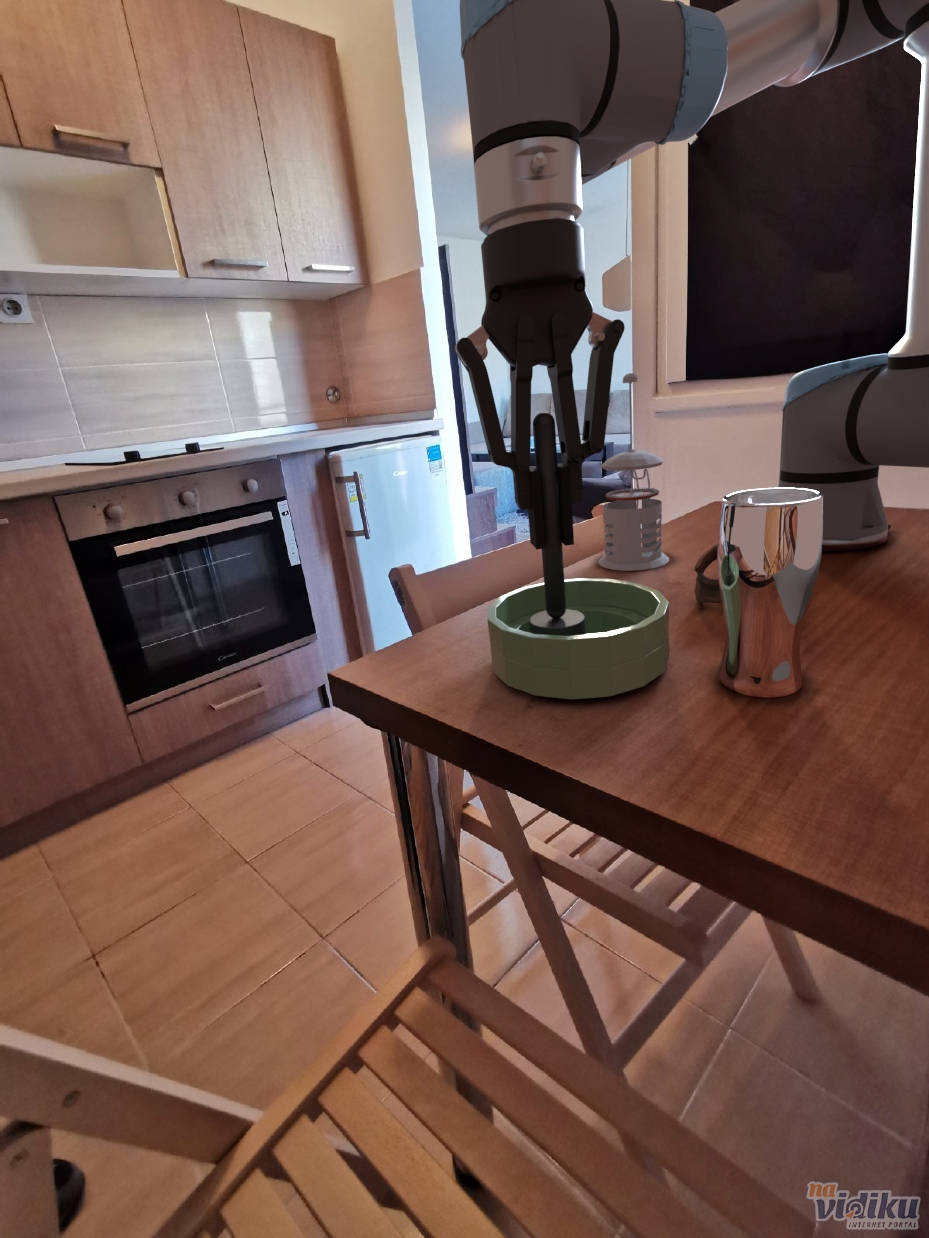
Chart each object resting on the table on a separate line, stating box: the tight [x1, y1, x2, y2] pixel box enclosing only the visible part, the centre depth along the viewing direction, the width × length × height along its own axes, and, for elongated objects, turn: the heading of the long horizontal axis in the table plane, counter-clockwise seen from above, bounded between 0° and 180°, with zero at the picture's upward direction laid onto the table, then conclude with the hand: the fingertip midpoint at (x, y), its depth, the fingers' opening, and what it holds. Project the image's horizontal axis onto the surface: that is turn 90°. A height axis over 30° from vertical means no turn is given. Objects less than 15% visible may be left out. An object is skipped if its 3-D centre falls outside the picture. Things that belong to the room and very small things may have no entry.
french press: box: [597, 372, 670, 572], centre depth 81 cm, size 10×12×25 cm
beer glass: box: [716, 487, 824, 699], centre depth 45 cm, size 7×7×15 cm
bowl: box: [487, 577, 670, 700], centre depth 53 cm, size 16×16×6 cm
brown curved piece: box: [694, 543, 722, 609], centre depth 64 cm, size 12×10×8 cm
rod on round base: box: [529, 411, 585, 636], centre depth 51 cm, size 5×5×20 cm
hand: (551, 543), depth 51 cm, fingers closed on rod on round base, 2 cm apart
